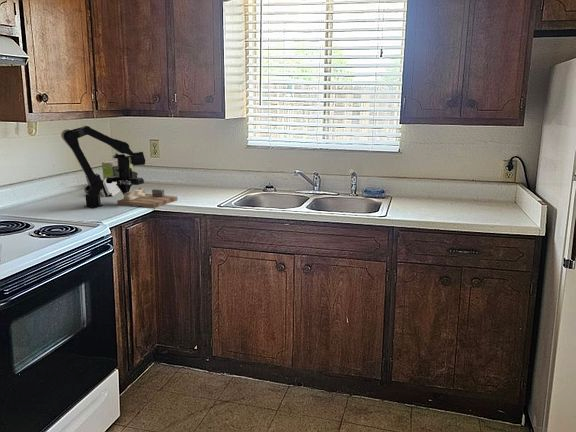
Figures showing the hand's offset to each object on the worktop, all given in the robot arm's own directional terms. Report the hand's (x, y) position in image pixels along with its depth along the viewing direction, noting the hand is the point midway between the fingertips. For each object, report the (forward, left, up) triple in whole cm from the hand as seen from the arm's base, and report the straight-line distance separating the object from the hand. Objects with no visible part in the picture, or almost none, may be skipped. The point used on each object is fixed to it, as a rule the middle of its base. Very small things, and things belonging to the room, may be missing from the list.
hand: (126, 197), depth 272 cm
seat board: (+5, -9, -3) cm, 11 cm away
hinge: (+16, +25, -3) cm, 30 cm away
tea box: (+39, +37, -3) cm, 54 cm away
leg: (+3, -3, -1) cm, 4 cm away
